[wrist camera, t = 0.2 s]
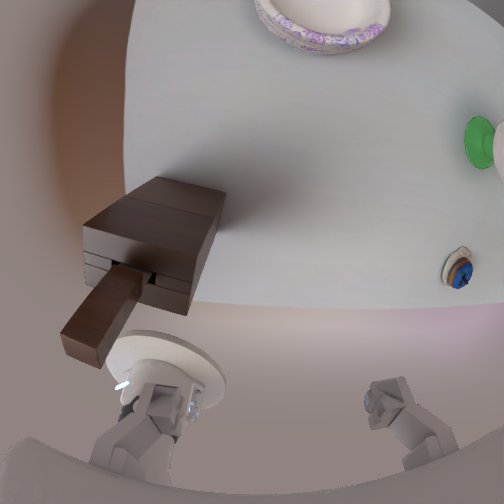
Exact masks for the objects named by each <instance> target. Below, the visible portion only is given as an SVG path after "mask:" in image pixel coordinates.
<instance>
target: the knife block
mask: <svg viewBox="0 0 504 504" xmlns="http://www.w3.org/2000/svg"><path fill="white" fill-rule="evenodd" d="M225 196H226V193H225V192H221V191H217V190H213V189H209V188H205V187H201V186H196V185H192V184H188V183H184V182H179V181H175V180H170V179H166V178H161V177H155V178H153V179H151V180H150V181H148V182H146V183H145V184H143V185H141V186H140V187H138V188H137V189H135V190H133V191H132V192H130V193H129V194H127V195H125V196H124V197H123V198H121V199H119V200H118V201H116V202H115V203H113V204H112V205H110V206H109V207H107V208H106V209H105V210H103V211H102V212H100V213H99V214H97V215H96V216H94V217H93V218H92V219H90V220H89V221H87V222H86V223H85V224H83V226H82V228H83V258H84V271H85V283H86V285H89V286H92V287H94V288H95V286H96V285H97V284H98V283H99V282H100V280H101V279H102V278H103V277H104V276H105V274H106V273H107V272H108V271H109V270H110V268H111V267H112V266H113V265H118V264H119V263H120V262H122V263H125V264H128V265H132V266H135V267H138V268H142V269H145V270H149V271H152V272H154V273H153V274H152V276H151V278H150V279H149V281H148V282H147V284H146V286H143V290H142V295H141V297H140V298H139V300H138V302H139V303H142V304H146V305H149V306H152V307H156V308H159V309H162V310H166V311H170V312H173V313H177V314H180V315H184V316H187V314H188V311H189V308H190V305H191V302H192V299H193V296H194V293H195V290H196V288H197V285H198V282H199V279H200V276H201V274H202V271H203V268H204V265H205V262H206V260H207V257H208V254H209V252H210V249H211V246H212V243H213V241H214V238H215V235H216V233H217V229H218V224H219V220H220V216H221V212H222V208H223V204H224V200H225Z"/></svg>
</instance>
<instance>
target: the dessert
mask: <svg viewBox="0 0 504 504" xmlns="http://www.w3.org/2000/svg"><path fill="white" fill-rule="evenodd" d="M472 272H473V267H472V263H471V254H470V251H469V250H468V249H467V248H465V247H460V248H459V250H458V251H456V252H453V253H452V254H451V256H450V257H449V258H448V260H447V262H446V265H445V268H444V270H443V274H442V279H443V283H444V284H445V285H451V287H454V288H457V289H460V288H462V287H463V286H465V285H466V284H468V281H469V280H470V278H471V276H472Z"/></svg>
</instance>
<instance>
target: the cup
mask: <svg viewBox="0 0 504 504" xmlns="http://www.w3.org/2000/svg"><path fill="white" fill-rule="evenodd" d="M465 148H466V153H467V155H468V158H469V160H470V162H471V163H472V164H473V165H474V166H475V167H476V168H479V169H485V168H488V167H489V166H490V165H491V164H492V163H493V161H494V164H495V166H496V169H497V172H498V174H499V176H500V178H501V179H502V181H503V182H504V120H503V121H502V122H501V123H500V124H499V125H498V126H497V129H496V132H494V129H493V127H492V125H491V124H490V123H489V122H488V120H487V119H485V118H482V117H475V118H473V119H472V120H471V121H470V122H469V123H468V126H467V128H466V131H465Z"/></svg>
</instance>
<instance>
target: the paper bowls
mask: <svg viewBox="0 0 504 504" xmlns="http://www.w3.org/2000/svg"><path fill="white" fill-rule="evenodd" d="M254 3H255V7H256V11H257V13H258V15H259V17H260V19H261V20H262V22H263V23H264V24H265V26H266V27H267V28H268V29H269V30H270V31H271V32H272V33H273V34H275V35H276V36H277V37H278V38H280V39H281V40H283V41H284V42H286V43H288V44H290V45H292V46H294V47H296V48H299V49H301V50H305V51H308V52H312V53H317V54H324V55H336V54H344V53H348V52H351V51H354V50H357V49H359V48H361V47H363V46H365V45H366V44H368V43H369V42H371V41H373V40H374V39H376V38H377V37H378V36H379V35H380V34H381V33H382V32H384V30H385V29H386V27H387V26H388V23H389V21H390V15H391V7H390V2H389V0H254Z"/></svg>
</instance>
